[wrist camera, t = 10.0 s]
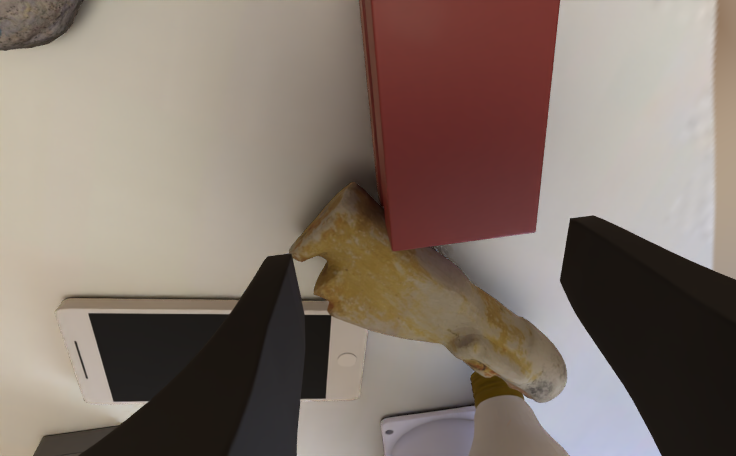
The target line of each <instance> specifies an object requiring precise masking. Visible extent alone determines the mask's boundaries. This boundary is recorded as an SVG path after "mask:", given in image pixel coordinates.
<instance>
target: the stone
mask: <svg viewBox="0 0 736 456" xmlns="http://www.w3.org/2000/svg"><path fill="white" fill-rule="evenodd" d="M82 2H83V0H0V50H4V51H6V50H10V49H19V48H32V47H36V46H40V45H45V44H48V43H50V42H52V41H53V40H55V39H56V38H58V37H59V36H61V35H63V34H64V33H65V32H67V30H68V29H69V28H70V26H71V25H72V23H73V21H74V18H75V16H76V15H77V12H78V9H79V7H80V5H81V3H82Z"/></svg>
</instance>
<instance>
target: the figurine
mask: <svg viewBox="0 0 736 456" xmlns="http://www.w3.org/2000/svg"><path fill="white" fill-rule="evenodd" d="M289 254H292V258H294V259H296V260H297V261H300V262H303V261H305V260H307V259H310V258H313V257H315V256H321V257H323V258H324V259H326V260H327V263H326V264H325V266H324V268H323V269H322V271H321V273H320V275H319V277H318V279H317V281H316V284H315V287H314V295H317V296H319V297H322V298H324V299H326V300H328V301H329V305H328V309H327V311H328V313H329V314H330V315H331V316H333V317H335V318H337V319H340V320H342V321H345V322H347V323H350V324H353V325H356V326H359V327H362V328H365V329H368V330H371V331H375V332H378V333H382V334H386V335H390V336H395V337H399V338H404V339H410V340H417V341H425V342H432V343H440V344H442V345H444V346H445V347H446V348H447V349H448V350H449V351H450V352H451V353H452V354H453V355H454V356H455V357H456V358H458V359H462V360H463V361H464V362H465V363H466V364H467V365H468V366H470V367H471V368H472V369H473V370H474V371H475V372H477V373H479V374H480V375H482V376H484V377H487V378H490V377H492V376H494V375H496V376H498V377H500V378H502V379H503V380H504V381H505V382H506V383H507V385H508V386H509V387H510V388H512V389H515V390H518V391H519V392H520V393H522V394H523V395H525V396H526V397H527V398H530V399H533V400H535V401H536V402H539V403H543V402H548V401H550V400H552V399H554V398H555V397H557V396H558V395H559V394H560V393H561V392H562V390H563V389H564V387H565V385H566V382H567V370H566V365H565V362H564V360H563V358H562V356H561V354H560V353H559V351H558V350H557V348H556V347H555V346H554V344H553V343H552V342H551V341H550V340H549V339H548V338H547V337H546V336H545V335H544V334H543V333H542V332H541V331H540V330H538V329H537V328H536V327H535V326H534V325H533V324H531V323H530V322H529V321H527V320H526V319H524V318H523V317H518V316H517V315H515V314H514V313H512V312H511V311H510V310H508V309H507V308H506V307H505V306H503V305H502V304H501V303H500V302H498V301H497V300H496V299H495V298H493V297H492V296H490V295H489V294H487V293H486V292H484V291H483V290H481V289H480V288H478V287H477V286H475V285H474V284H472V283H471V282H470V281H469V279H468V278H467V277H466V275H465V274H464V273H463V272H462V271H461V270H460V269H459V267H458V266H456V265H455V264H454V263H452V262H451V261H450V260H448V259H447V258H445V257H444V256H443V255H441V254H440V253H438V252H437V251H435V250H434V249H433V248H431V247H424V248H416V249H409V250H401V251H392V249H391V245H390V241H389V237H388V233H387V229H386V225H385V215H384V209H383V208H382V207H381V206H380V205H379V204H378V203H377V202H376V201H375V200H374V199H373V198H372V197H371V196H370V195H369V194H368V193H367V192H366V191H365V190H364V189H363V188H362V187H361V186H360V185H358V184H357V183H356V182H351V183H350V184H349V185H347V186H346V187H344V188H343V189H342V190H341V191H340V192H339V193H338V194H336V196H335V197H334V198H333V199H332V200H331V201H330V202H329V203H328V204H327V206H326V207H325V208H324V209H323V210H322V211H321V212H320V213H319V215H318V216H317V217H316V219H315V220H314V221H313V222H312V223H311V224H310V225H309V226H308V227H307V228H306V230H305V231H304V232H303V233H302V235H301V236H300V237H299V238H298V239H297V240H296V242H295V243H294V244H293V245H292V246H291V248H290V249H289Z"/></svg>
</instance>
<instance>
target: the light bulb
mask: <svg viewBox="0 0 736 456" xmlns="http://www.w3.org/2000/svg"><path fill="white" fill-rule="evenodd" d="M470 380H471V385H472V391H473V393H474V394H473V397H474V399H475V400H474V402H475V408H476V412H475V416H474V438H473V442H472V446H471V449H470V452H469V455H468V456H569V455H568V453H567V452H566V451H565V450H564V449H563V447H561V446H560V445H559V444H558V443H557V442H556V441H555V440H554V439H553V438H552V437H551V436H550V435H549V434H548V433H547V432H546V431H545V430H544V429H543V427H542V426H541V425H540V423H539V421H538V420H537V418H536V416H535V414H534V412H533V411H532V409H531V408H530V406H529V405H528V404H527V403H526V402H525V401H524V397H523V394H522V393H520V392H519V391H518V390H515V389H512V388H510V387H509V386H508V385H507V383H506V382H505V381H504V380H503V379H502V378H500V377H498V376H496V375H494V376H492V377H490V378H487V377H484V376H482V375H480V374H479V373H477V372H474V373H473V374H472V375H471V378H470Z"/></svg>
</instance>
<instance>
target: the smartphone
mask: <svg viewBox="0 0 736 456" xmlns="http://www.w3.org/2000/svg"><path fill="white" fill-rule="evenodd" d="M238 301H239V300H195V299H104V298H70V299H65V300H63V301H62V302H61V304H60V305H59V307H58V308H57V310H56V311H55V316H56V319H57V322H58V325H59V328H60V330H61V333H62V336H63V339H64V342H65V345H66V348H67V351H68V354H69V357H70V360H71V363H72V366H73V369H74V372H75V375H76V378H77V381H78V384H79V387H80V390H81V393H82V396H83V399H84V401H85V402H86V403H89V404H146V403H147V402H149V401H150V400H151V399H152V398H153V397H154V396H155V395H156V394H157V393H158V392H159V391H161V390H162V389H163V388H164V387H165V386H166V385H167V384H168V383H169V382H170V381H171V380H172V379H173V378H175V377H176V376H177V375H178V374H179V373H180V372H181V371H182V370H183V369H184V368H185V367H186V366H187V365H188V364H189V363H190V361H191V360H192V359H193V358H194V357H195V356H196V355H197V354H198V353H199V352H200V350H201V349H202V348H203V347H204V346H205V345H206V343H207V342H208V341H209V340H210V339H211V337H212V336H213V335H214V334H215V332H216V331H217V330H218V328H219V327H220V326H221V324H222V323H223V322H224V321H225V319H226V318H227V317H228V315H229V314H230V313H231V311H232V310H233V308H234V307H235V305H236V304H237V302H238ZM302 305H303V309H304V314H305V358H304V369H303V379H302V389H301V399H300V401H349V400H356V399H358V398H359V397H360V390H361V382H362V374H363V367H364V359H365V351H366V343H367V335H368V329H365V328H362V327H359V326H356V325H353V324H350V323H347V322H345V321H342V320H340V319H337V318H335V317H333V316H331V315H330V314H329V313H328V311H327V309H328V305H329V301H302Z"/></svg>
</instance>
